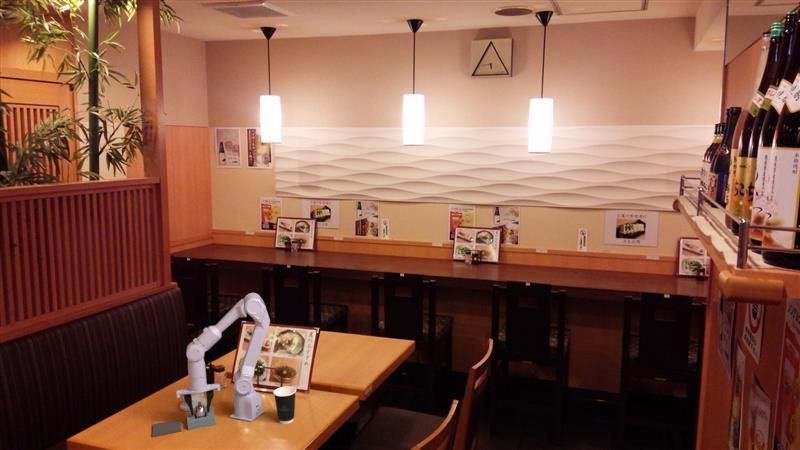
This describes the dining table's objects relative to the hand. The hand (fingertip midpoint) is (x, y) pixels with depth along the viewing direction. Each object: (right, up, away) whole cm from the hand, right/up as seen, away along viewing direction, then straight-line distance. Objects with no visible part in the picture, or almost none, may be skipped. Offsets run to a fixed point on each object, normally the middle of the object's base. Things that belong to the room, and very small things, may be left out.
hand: (200, 412), depth 209 cm
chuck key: (0, -3, 0) cm, 3 cm away
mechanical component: (-7, -2, +15) cm, 16 cm away
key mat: (-10, -4, -4) cm, 12 cm away
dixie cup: (+31, -3, -1) cm, 31 cm away
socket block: (0, -3, 0) cm, 3 cm away
